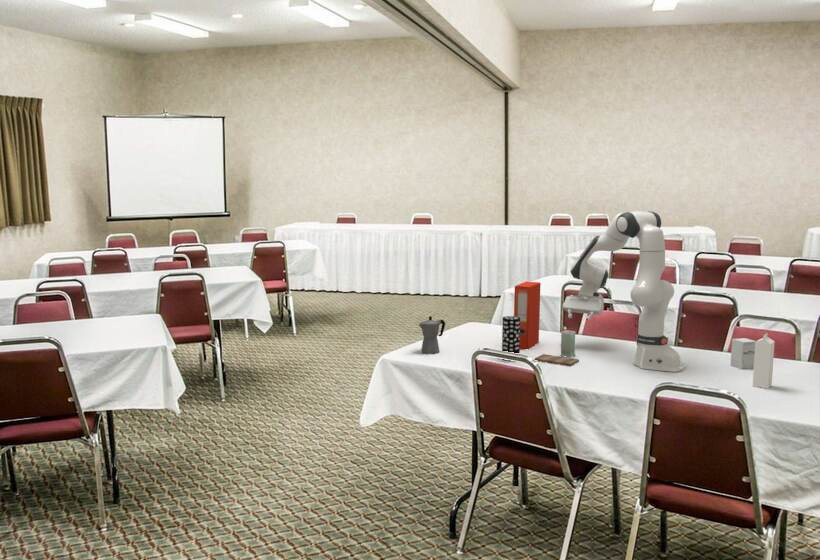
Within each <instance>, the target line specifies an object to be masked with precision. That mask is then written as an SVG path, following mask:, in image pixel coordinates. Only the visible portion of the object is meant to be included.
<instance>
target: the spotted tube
mask: <svg viewBox="0 0 820 560" xmlns="http://www.w3.org/2000/svg"><path fill="white" fill-rule="evenodd" d="M501 330H502V334H501V339H502V342H501V344H502V345H501V352H502V351H508V352H514V353H520V354H521V352H520V351H521V349H520V317H516V316H514V315H513V316H512V315H507V316H506V315H505V316H503V317H502V329H501ZM502 360H503V361H505V362H506V361H507V360H504V359H502ZM507 362H508V361H507Z"/></svg>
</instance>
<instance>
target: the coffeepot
mask: <svg viewBox="0 0 820 560" xmlns="http://www.w3.org/2000/svg"><path fill="white" fill-rule="evenodd" d="M432 319H433V316H428V320H427V319H426V320H423V321H421V322H420V323H419V324H418V326H419V327H420V328H421V331H422V336H423V339H422V343H421V345H422V346H421V350H420V351H421V353H422V354H425V355H435V354H439V353H440V346H439V341H438V340H439V339H438V337H442V336H443V333H444V330H445V328H446V321H444V320H443V319H438V320H437V319H436V320H432ZM440 325H441V327H440ZM440 328H441V329H440ZM439 330H440V333H439Z"/></svg>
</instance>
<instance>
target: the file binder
mask: <svg viewBox="0 0 820 560" xmlns="http://www.w3.org/2000/svg"><path fill="white" fill-rule="evenodd" d="M513 297H514V299H513V300H514V303H513V308H514V309H513V316H516V317H520V350H524V349H528V350H529V348H530V349H531V348H533V347H534V346H536V345H538V344H539V343H540V318H541V317H540V316H541V315H540V313H541V312H540V311H541V310H540V309H541V306H540V305H541V282H537V281H524V282H522V283H519V284H517V285H514V296H513ZM535 344H536V345H535ZM532 346H533V347H532Z"/></svg>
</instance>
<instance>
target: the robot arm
mask: <svg viewBox="0 0 820 560" xmlns="http://www.w3.org/2000/svg"><path fill="white" fill-rule="evenodd" d="M661 219H662V218H661V217H660V215H659V214H658V213H657V212H654V211H650V210H649V211H640V210H635V211H627V212H620V213H617V214H616V215H615V216H614V217H613V219H612V220H611V221H610V223H609V225H608V226H607V228H606V230H605V231H604V233H602V234H600V235H596V236H594V237H593V238H592V239H591V241H590V242H589V243H588V245H587V246H586V248H584V250H583V252H582V253H581V254H580V255H579V256H578V257H577V259H576V260H575V261H574V262H573V263H572V264H571V267H570V274H571V276H572V278H573V279H576V280H580V281H582V286H581V287H580V288H579V291H578V294H576V295H573V294H570V295H567V296H566V297H565V300H564V302H563V303H562V310H564V312H567V313H568V315H567V318H568V319H573V314H572V313H579V314H587V316H586V318H585V320H586V322H587V321H588V322H590V321H591V319H592V318H594V317H595V315H596V316H601V315H602V314H603V313H604V308H605V305H604V304H605V299H604V297H603V295H602V294H601V293H599V292H598V291H599V290H600V289H603V288H604V287H605V286H606V284H607V281H608V278H609V272H608V270H607V269H606V268H604V267H601V266H599V265H596V264H593V263H591V262H589V261H588V260H589V259H590V258H591V257H592V255H593V254H594V253H596V252H600V251H601V252H604V251H605V252H617V251H620V250H621V249H623V248H624V247H625V245H626V244H627V242H628V240H629V238H631V239H634V238H637V239H638V241H639V266H638V267H639V268H638V274H637V277H636V280H635V284H634V286H633V287H632V289H631V291H630V299H631V301H632V303H634V305H635V306H638V307H642V308H643V309H642V312H641V313H640V315H639V317H638V331H637V332H638V333H636V346H637V347H636V352H635V357H634V360H633V365H635V366H637V367H638V368H640V369H643V370H649V371H650V370H651V371H658V372H659V371H661V372H671V373H677V372H682V371H683V370H685V369H686V364H685V363H683V362H681V358H680V353H679V352H678V351H676V349H674V348H673V347H672V346H670V345H669V344H668V342H669V336H668V337H667V336H665V335H664V332H665V318H666V314H667V310H668V307H669V304H670V302H671V300H672V298H673V297H674V295H675V287H674V286H673V284H672V283H671V282H669V281H668V280H664V279H661V278H662V274H663V272H664V271H665V269H666V243H665V236H664V232H663V229H662V228H661V227H662V220H661Z"/></svg>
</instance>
